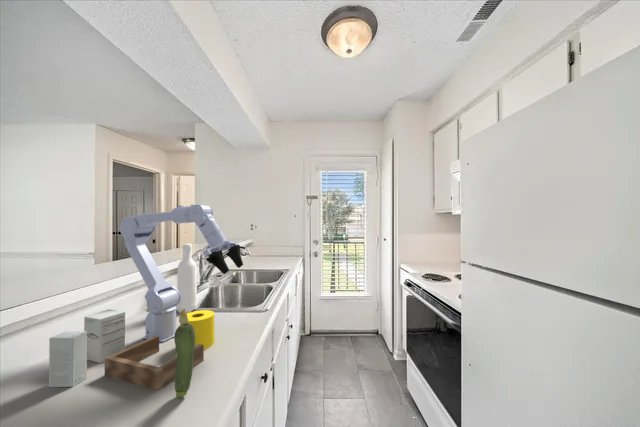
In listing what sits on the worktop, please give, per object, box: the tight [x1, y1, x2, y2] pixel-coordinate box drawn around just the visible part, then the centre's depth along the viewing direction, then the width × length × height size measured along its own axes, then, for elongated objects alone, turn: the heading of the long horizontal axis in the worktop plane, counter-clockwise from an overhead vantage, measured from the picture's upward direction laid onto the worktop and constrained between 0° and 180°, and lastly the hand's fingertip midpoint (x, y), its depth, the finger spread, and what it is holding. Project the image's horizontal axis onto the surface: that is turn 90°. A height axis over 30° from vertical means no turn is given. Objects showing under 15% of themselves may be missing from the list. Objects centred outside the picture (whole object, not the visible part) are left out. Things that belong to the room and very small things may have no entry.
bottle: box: [176, 243, 198, 314], centre depth 122 cm, size 8×8×30 cm
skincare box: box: [48, 330, 88, 388], centre depth 68 cm, size 6×4×12 cm
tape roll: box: [187, 309, 215, 350], centre depth 88 cm, size 10×10×9 cm
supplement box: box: [83, 309, 126, 364], centre depth 81 cm, size 7×7×13 cm
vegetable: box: [173, 309, 195, 399], centre depth 62 cm, size 4×4×20 cm
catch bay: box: [104, 336, 205, 391], centre depth 74 cm, size 19×14×4 cm
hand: (234, 269), depth 90 cm, fingers open, 7 cm apart
